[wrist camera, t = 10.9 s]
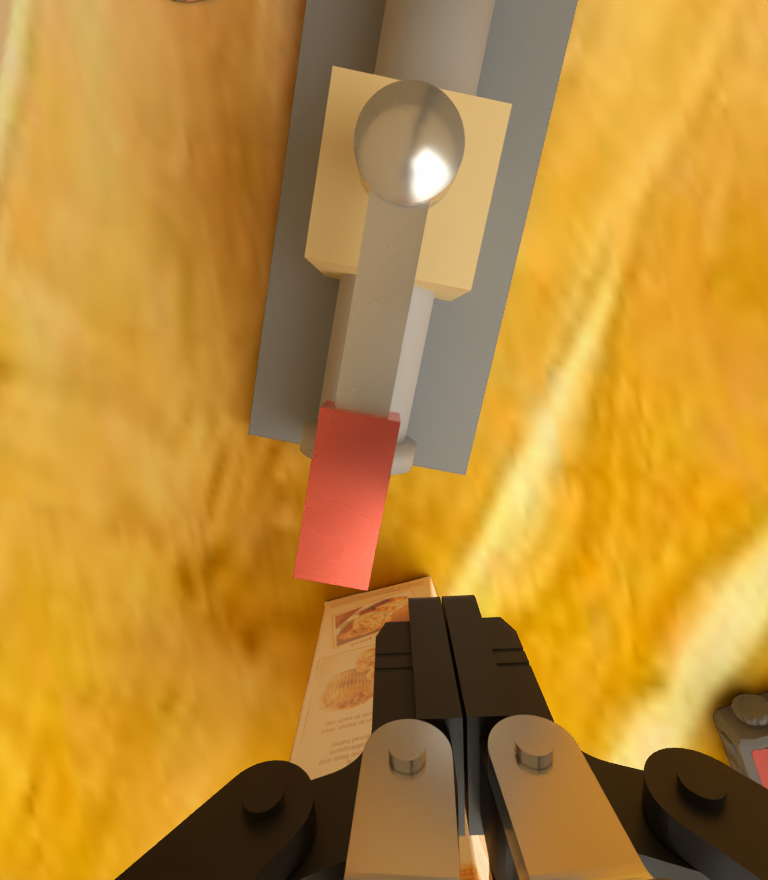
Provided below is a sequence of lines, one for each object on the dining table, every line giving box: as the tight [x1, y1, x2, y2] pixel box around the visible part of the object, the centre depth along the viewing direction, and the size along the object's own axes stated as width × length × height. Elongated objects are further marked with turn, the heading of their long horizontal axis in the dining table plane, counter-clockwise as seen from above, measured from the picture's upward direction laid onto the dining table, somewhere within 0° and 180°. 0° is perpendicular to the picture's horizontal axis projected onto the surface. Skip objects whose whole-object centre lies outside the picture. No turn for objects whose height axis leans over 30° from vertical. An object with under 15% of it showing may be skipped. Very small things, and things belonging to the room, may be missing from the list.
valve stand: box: [248, 0, 578, 475], centre depth 21 cm, size 24×12×10 cm, turn 169°
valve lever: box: [293, 80, 465, 591], centre depth 16 cm, size 16×3×2 cm, turn 169°
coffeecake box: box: [289, 576, 489, 880], centre depth 22 cm, size 15×7×20 cm, turn 16°
